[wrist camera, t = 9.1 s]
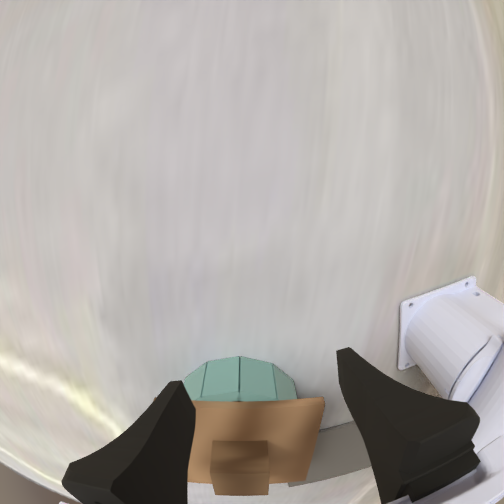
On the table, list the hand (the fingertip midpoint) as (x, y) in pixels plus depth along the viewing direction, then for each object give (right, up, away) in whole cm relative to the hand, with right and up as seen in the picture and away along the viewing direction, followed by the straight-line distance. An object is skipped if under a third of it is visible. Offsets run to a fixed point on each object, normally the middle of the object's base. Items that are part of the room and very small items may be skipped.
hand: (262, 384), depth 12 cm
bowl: (-2, -8, +13) cm, 16 cm away
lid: (-1, -12, +9) cm, 15 cm away
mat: (+11, -19, +16) cm, 28 cm away
